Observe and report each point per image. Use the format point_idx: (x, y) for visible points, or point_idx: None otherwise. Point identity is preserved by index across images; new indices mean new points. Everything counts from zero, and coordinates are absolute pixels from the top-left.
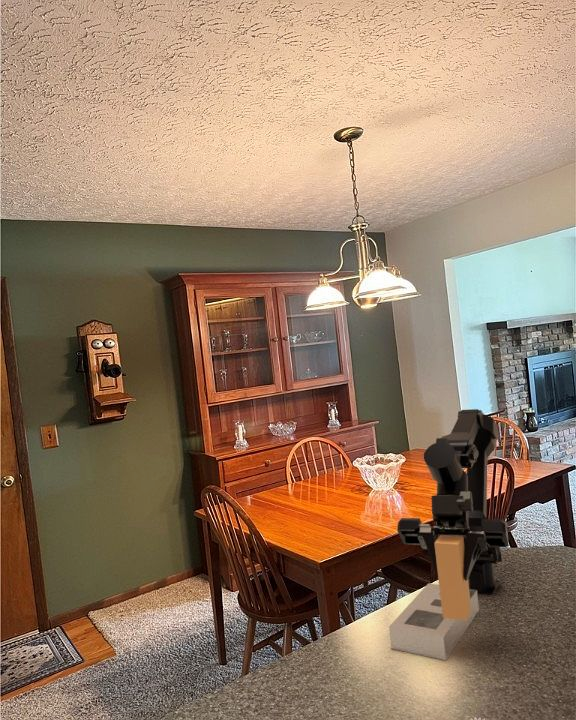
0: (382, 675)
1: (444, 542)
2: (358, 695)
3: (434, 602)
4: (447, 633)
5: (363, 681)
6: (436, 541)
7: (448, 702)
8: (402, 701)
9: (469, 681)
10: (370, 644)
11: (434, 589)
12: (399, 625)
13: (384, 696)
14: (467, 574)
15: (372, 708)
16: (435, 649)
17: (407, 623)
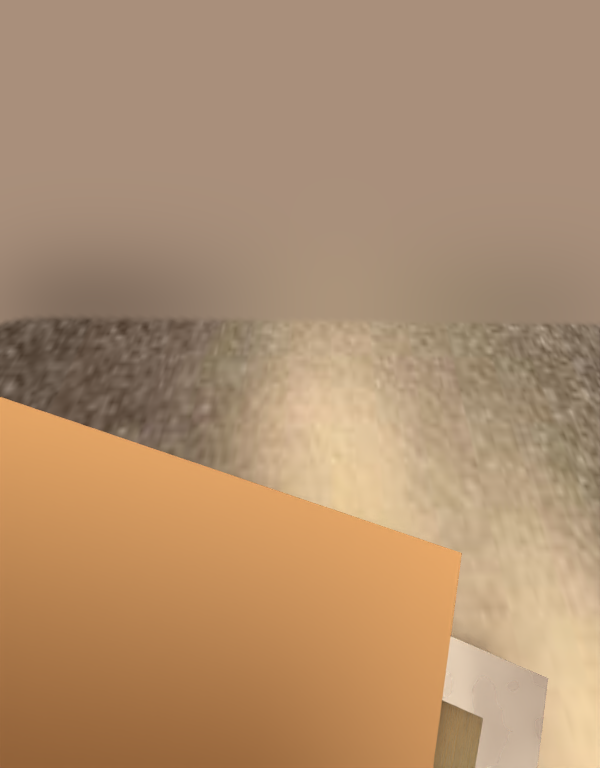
0: (485, 484)
1: (189, 552)
2: (525, 388)
3: None
4: None
5: (532, 452)
6: (415, 673)
7: (287, 359)
8: (406, 364)
9: (215, 453)
10: (588, 717)
11: None
12: (500, 693)
13: (456, 384)
14: None
15: (475, 339)
16: None
17: (465, 766)
